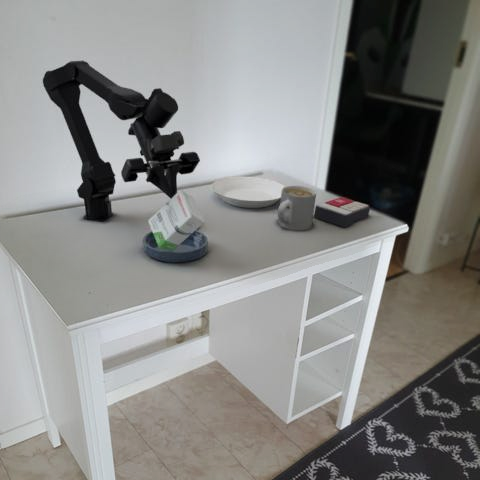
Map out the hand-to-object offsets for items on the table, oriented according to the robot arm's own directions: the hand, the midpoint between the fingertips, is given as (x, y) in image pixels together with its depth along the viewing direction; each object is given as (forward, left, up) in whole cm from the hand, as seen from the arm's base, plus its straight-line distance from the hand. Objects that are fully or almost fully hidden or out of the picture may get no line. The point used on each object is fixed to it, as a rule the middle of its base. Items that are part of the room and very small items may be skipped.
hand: (174, 197), depth 116 cm
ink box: (-3, -3, -9) cm, 10 cm away
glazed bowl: (-1, +3, -15) cm, 15 cm away
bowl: (+10, +49, -15) cm, 52 cm away
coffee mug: (+26, +30, -15) cm, 42 cm away
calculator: (+41, +42, -15) cm, 60 cm away
